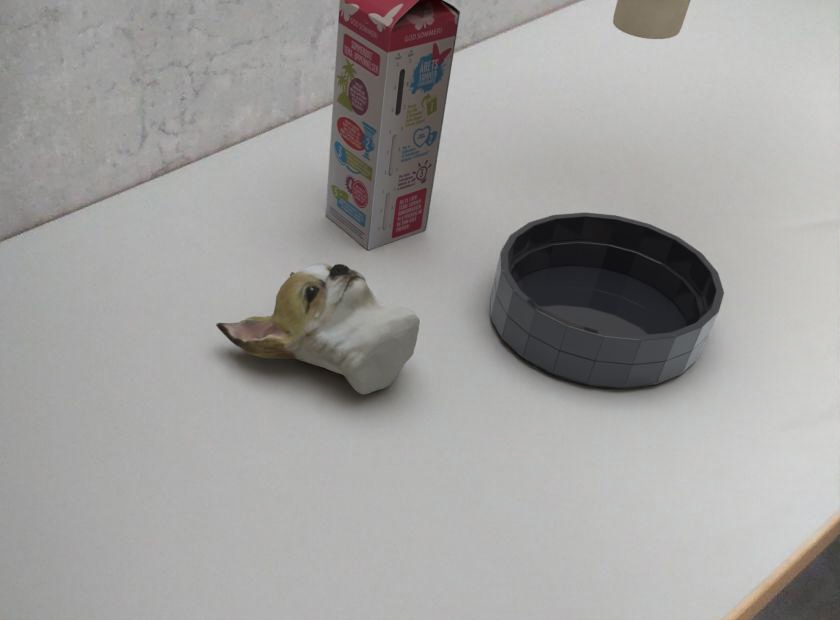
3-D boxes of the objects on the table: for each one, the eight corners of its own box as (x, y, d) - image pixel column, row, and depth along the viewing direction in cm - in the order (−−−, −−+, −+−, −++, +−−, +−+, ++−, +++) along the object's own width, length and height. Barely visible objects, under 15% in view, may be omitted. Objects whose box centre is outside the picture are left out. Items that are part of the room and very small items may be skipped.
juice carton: (382, 196, 90) (412, -66, 74) (426, 230, 87) (467, -38, 70) (325, 215, 88) (342, -53, 71) (367, 250, 84) (396, -23, 68)
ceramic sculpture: (375, 334, 62) (204, 260, 68) (369, 436, 68) (212, 360, 74) (461, 266, 68) (296, 203, 74) (448, 366, 74) (296, 300, 80)
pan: (602, 245, 86) (618, 194, 82) (745, 352, 77) (770, 300, 73) (448, 295, 80) (457, 243, 76) (581, 418, 71) (600, 365, 67)
